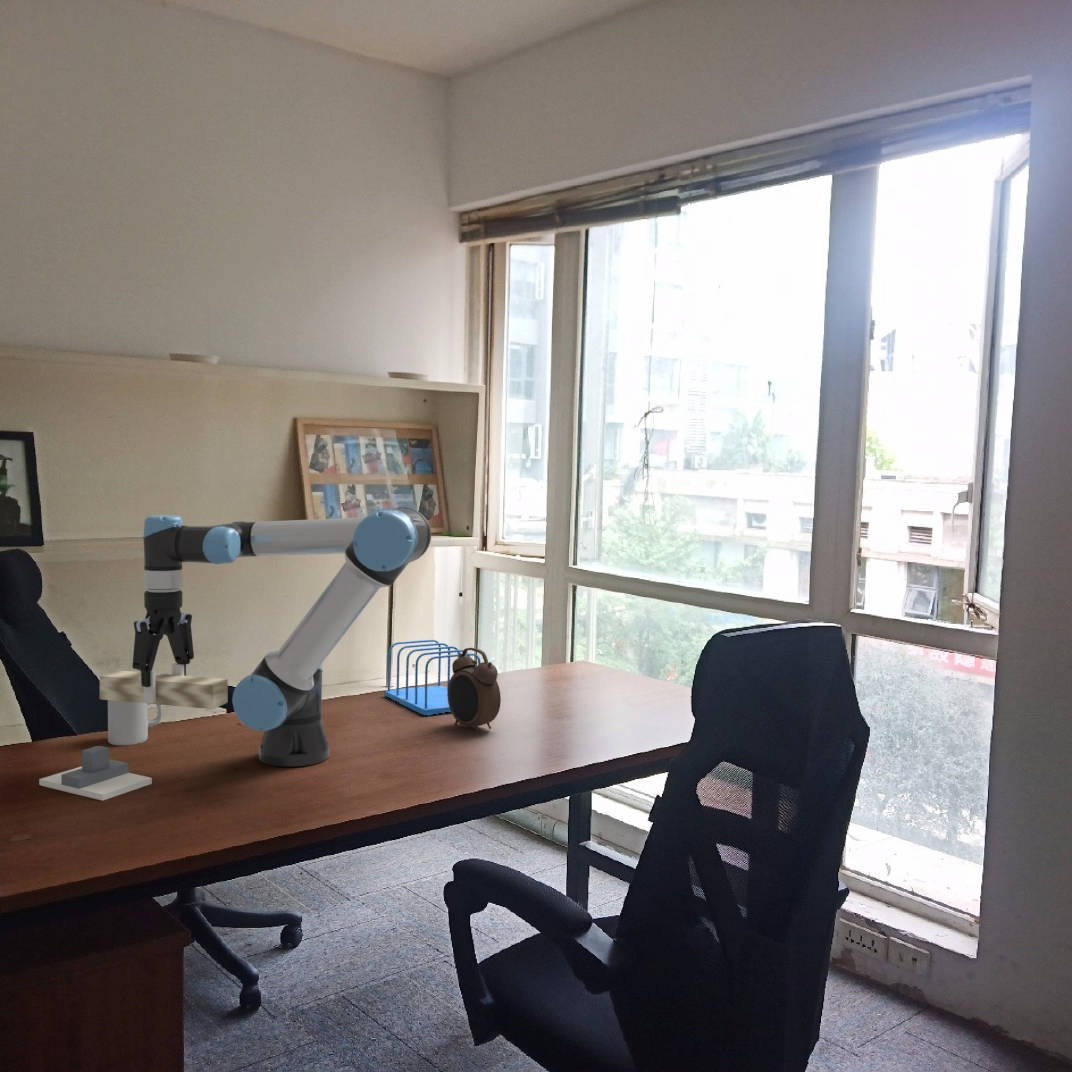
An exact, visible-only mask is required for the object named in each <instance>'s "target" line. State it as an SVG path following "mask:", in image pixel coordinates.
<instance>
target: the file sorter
mask: <svg viewBox="0 0 1072 1072" xmlns="http://www.w3.org/2000/svg"><path fill="white" fill-rule="evenodd" d="M416 643H417V644H416ZM418 643H421V644H418ZM422 643H423V644H422ZM403 644H404V646H402V647H401V648H400V649H399V650H398V652H397V655H396V656H397V658H396V689H395V688H394V689H391V662H392V661H391V654H392V649H393V648H394V647H395V646H397V645H403ZM405 644H410V645H405ZM412 644H413V645H412ZM432 646H433V647H432ZM435 646H438V647H435ZM408 648H409V649H411V648H414V649H412V650H410V651H409V652H408V653H407V656H406V661H405V662H406V663H405V668H406V669H405V687H404V688H400V657H401V653H402V651H403V650H406V649H408ZM445 649H446V650H445ZM433 650H438V651H433ZM463 650H464V649H458V647H456V646H454V645H451V646H450V645H448V644H447V643H445V642H444V643H443V642H439V641H438V640H436V639H422V640H419V639H418V640H408V641H398V642H394V643H393V644H391V645H390V647H389V649H388V655H387V656H388V658H387V660H388V662H387V663H388V664H387V689H386V690H384V697H385V696H388V697H389V698H391V699H393V700H394V702H395V701H398V702H399V703H398V702H397V703H398V704H400V705H402V706H404V707H406V708H407V709H410V710H412V711H413V712H414V711H415V712H417V713H418V714H420V715H422V716H425V715H427V716H434V715H433V714H436V715H440V714H439V713H442V714H446V713H445V712H450V713H451V710H450V707H449V704H448V697H447V690H448V684H449V681H450V679H451V658H455V657H456V658H459V653H463ZM423 651H427V652H423ZM416 652H423V653H421V654H420V655H418V657H416V660H415V667H414V669H415V670H414V671H415V673H414V677H415V678H414V680H415V681H414V687H409V669H410V668H409V667H410V666H409V665H410V663H409V662H410V656H411V655H412V654H413V653H416ZM451 653H452V654H451ZM453 653H457V654H453ZM442 654H446V655H442ZM428 655H435V656H432V657H430V658H429V659H428V660H427V661H426V664H425V671H424V686H418V680H419V679H418V676H419V675H418V671H419V666H418V665H419V661H420V659H421V658H422V657H423V656H424V657H425V656H428ZM436 655H437V656H436ZM465 656H469V657H471V656H472V657H475V658H476V659H477V665H478V664H480V663H481V658H480V656H479V655H477V654H476V653H471V652H468V651H467V652H466V654H465ZM445 658H447V682H446V683H447V685H446V686H447V687H446V686H444V685H441V673H442V672H441V671H442V669H441V668H442V667H441V666H442V665H441V664H442V659H445ZM435 659H436V660H437V659H438V671H437V673H438V674H437V685H428V674H429V672H428V671H429V669H428V668H429V664H430V662H431V661H432V660H435ZM389 698H388V699H389ZM391 699H390V700H391ZM393 700H392V701H393Z"/></svg>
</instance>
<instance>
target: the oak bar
mask: <svg viewBox="0 0 1072 1072" xmlns="http://www.w3.org/2000/svg"><path fill="white" fill-rule="evenodd" d="M228 680H229V678H219V677H218V678H215V677H206V676H205V677H204V676H194V675H193V676H190V675H186V676H182V675H172V674H168V673H157V672H156V702H155V703H150V702H145V701H144V696H143V687H142V685H141V671H131V670H119V669H116V670H113V671H109V672H108V673H107V672H106V673H104V674H101V675H99V700H102V701H108V700H113V701H124V702H135V703H147V704H150V705H156V704H158V705H162V706H172V707H182V708H183V707H184V708H192V709H193V708H195V709H206V710H214V709H217V708H219V707H221V706H224V705H226V704H227V703H229V702H228V700H229V699H228V698H229V697H228V695H229V693H228V691H229V690H228V689H229V688H228V685H229V684H228Z"/></svg>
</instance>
